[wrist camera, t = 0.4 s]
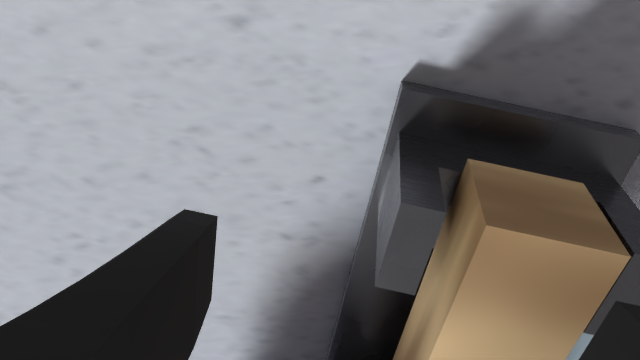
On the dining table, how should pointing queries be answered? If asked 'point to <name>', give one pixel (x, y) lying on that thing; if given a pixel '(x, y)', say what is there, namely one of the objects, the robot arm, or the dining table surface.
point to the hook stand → (438, 191)
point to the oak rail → (513, 270)
